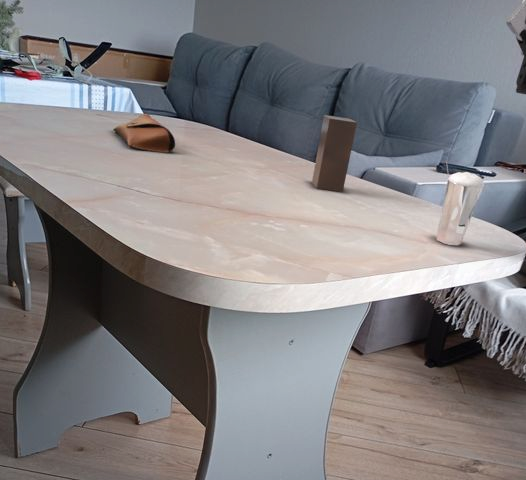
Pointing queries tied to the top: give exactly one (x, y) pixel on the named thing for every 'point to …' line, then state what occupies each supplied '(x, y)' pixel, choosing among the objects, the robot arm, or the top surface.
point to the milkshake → (458, 206)
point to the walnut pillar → (333, 153)
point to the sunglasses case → (146, 134)
